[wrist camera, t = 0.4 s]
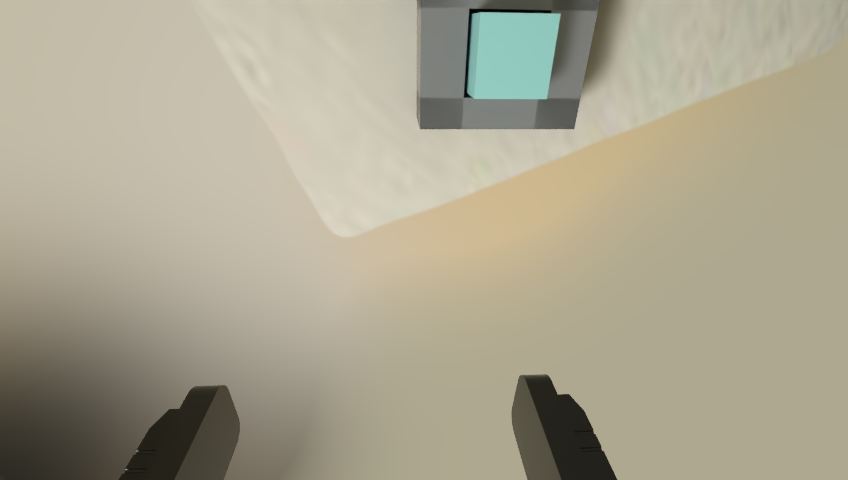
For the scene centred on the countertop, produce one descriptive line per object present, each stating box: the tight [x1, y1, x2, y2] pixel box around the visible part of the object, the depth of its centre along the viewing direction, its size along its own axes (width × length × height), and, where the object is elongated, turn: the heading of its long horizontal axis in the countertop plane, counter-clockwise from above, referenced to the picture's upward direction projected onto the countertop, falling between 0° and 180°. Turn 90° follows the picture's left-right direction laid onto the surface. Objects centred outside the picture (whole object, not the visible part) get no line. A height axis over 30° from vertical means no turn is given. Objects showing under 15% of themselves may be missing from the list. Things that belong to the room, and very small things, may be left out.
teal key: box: [464, 12, 561, 99], centre depth 26 cm, size 5×5×4 cm
